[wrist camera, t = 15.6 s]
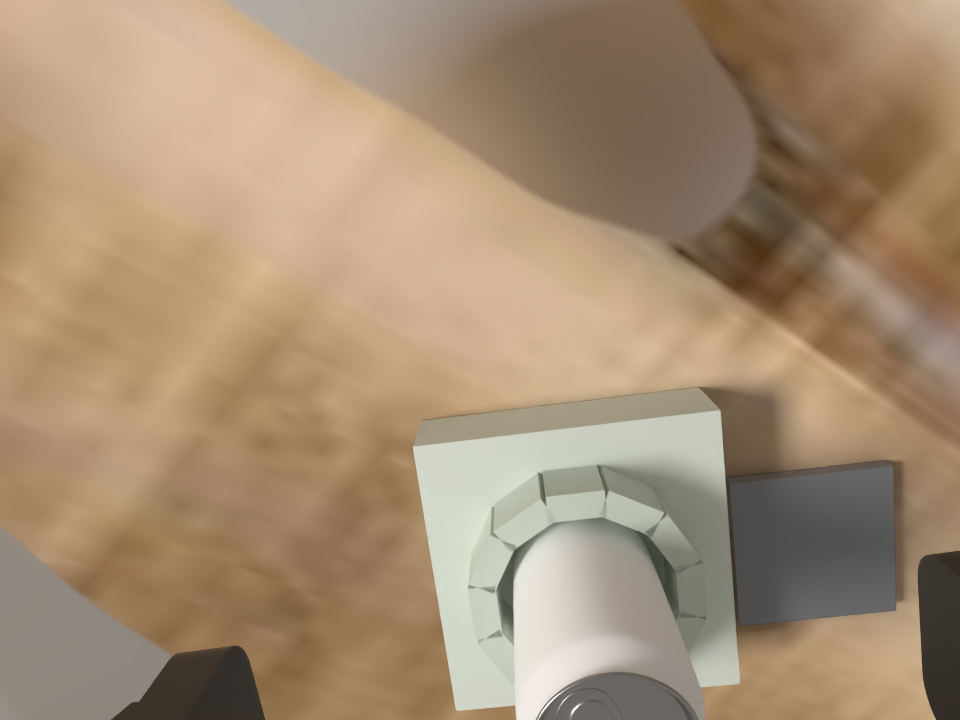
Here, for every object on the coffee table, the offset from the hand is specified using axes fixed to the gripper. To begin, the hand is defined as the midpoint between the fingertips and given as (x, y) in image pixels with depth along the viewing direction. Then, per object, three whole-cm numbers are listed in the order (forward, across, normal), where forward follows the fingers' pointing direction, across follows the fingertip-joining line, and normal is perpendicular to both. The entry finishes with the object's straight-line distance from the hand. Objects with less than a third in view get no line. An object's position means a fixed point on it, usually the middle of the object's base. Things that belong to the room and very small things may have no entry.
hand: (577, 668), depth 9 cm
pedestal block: (+29, -1, +12) cm, 32 cm away
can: (+25, -1, +12) cm, 28 cm away
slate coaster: (+29, -12, +15) cm, 35 cm away
